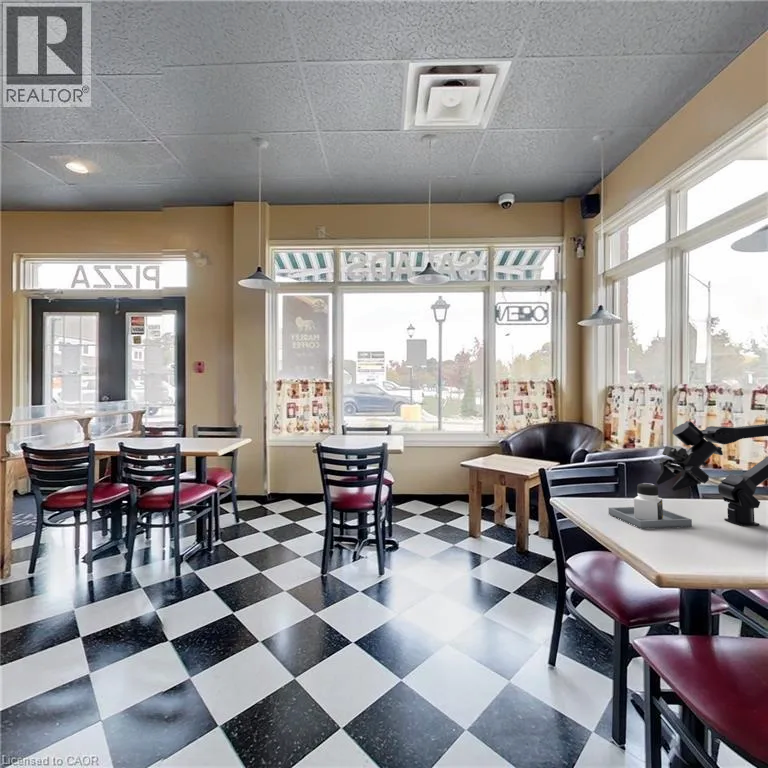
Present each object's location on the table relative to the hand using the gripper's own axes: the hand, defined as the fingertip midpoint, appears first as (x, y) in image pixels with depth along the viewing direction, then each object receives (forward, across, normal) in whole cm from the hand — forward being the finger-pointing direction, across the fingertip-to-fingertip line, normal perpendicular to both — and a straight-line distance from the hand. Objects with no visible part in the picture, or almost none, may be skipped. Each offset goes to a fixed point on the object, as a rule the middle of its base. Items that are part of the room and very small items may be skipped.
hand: (664, 486), depth 134 cm
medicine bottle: (+12, 0, +4) cm, 13 cm away
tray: (+12, 0, +4) cm, 13 cm away
